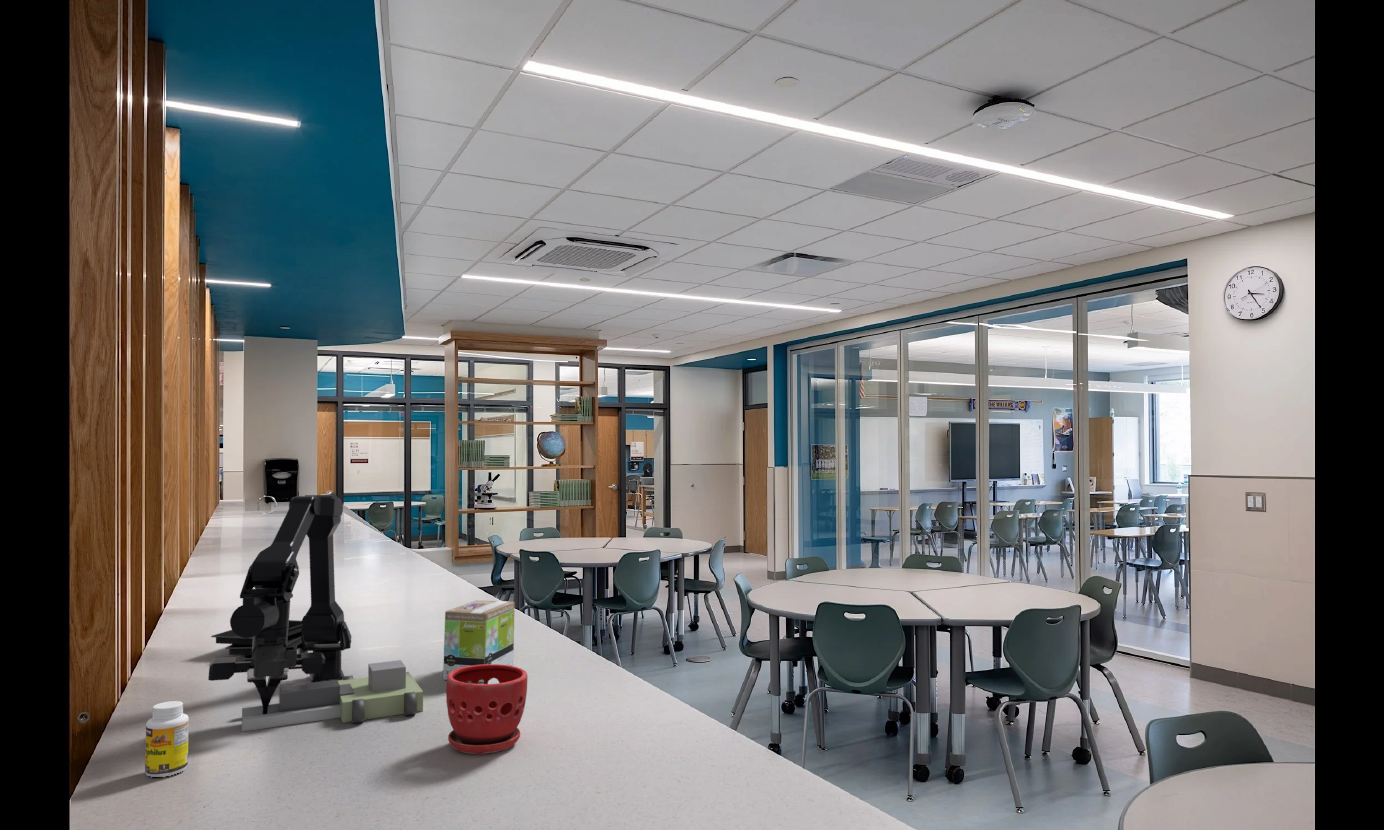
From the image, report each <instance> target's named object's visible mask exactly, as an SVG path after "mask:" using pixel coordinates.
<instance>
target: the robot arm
mask: <svg viewBox="0 0 1384 830" xmlns="http://www.w3.org/2000/svg"><path fill="white" fill-rule="evenodd" d="M343 503H344V502H343V501H342V500H341V499H340V498H338V496H337V494H305V495H297V496H293V497H291V498H290V500H289V502H288V510H287V512H286V514H285V516H284V518H283V520H282V522H281V525H280V526H279V529H278V530H277V533H276V534H275V537H274V538H273V541H272V543H271V544H270V545H269V546H268V547H266V548H264V549H263V550H261V551H260V552H259V553H258V554H257V555H256V557H255V558H254V560H253V562H252V563H251V565H250V566H249V567H248V569H247V573H246V577H245V579H244V583H243V585H242V589H241V591H240V593H239V599H242V605H240V606H238V607H237V608H236V609H235V610H234V611H233V612H232V615H231V616H230V618H229V623H230V624H229V626H230V629H231V630H233V632H234V633H235V634H236V635H237V636H240V637H243V638H250V637H253V645H252V655H250V656H251V657H250V658H251V661H246V662H245V661H236V658H237V657H236V656H227V657H226V656H225V657H214V658H213V659H212V660H210V662H209V663H210V664H209V667H208V677H207V678H208V679H207V680H208V681H224V680H226V681H227V680H230V678H232V677H233V676H234V675H235V674H240V673H246V675H247V679H246V681H247V683H253V685H254V686H255V688H256V689H257V692H258V695H259V698H260V702H261V704H262V706H263V715H264V714H267V711H268V706H269V703H270V702H272V698H273V696H274V693H275V691H276V690H277V688H278V687H279V686H280V683H282V681H287V680H288V678H289V676H288V672H289V670H300V669H301V671H302V672H303V673H304V674H306V675H309V679H310V683H314V682H322V681H330V680H342V677H343V676H345V673H344V672H343V669H342V651H345V650H348V649H349V650H350V649H351V647H352V646H351V645H352V634H351V631H350V630H349V627H348V625H347V622H346V621H345V613H344V610H343V609H342V608H341V606H340V605H339V604H338V602H337V601H336V592H335V591H336V589H335V588H336V586H335V559H334V556H335V555H334V534H335V532H336V530H338V529H337V528H339V525H340V524H341V522H342V515H343V511H344V504H343ZM306 537H307V538H308V549H309V550H308V551H309V555H308V556H309V576H310V577H309V583H310V584H309V585H310V586H309V587H310V607H309V608H308V609H307V612H306V613H305V615H304V616H303V617H302V619H301V621H302V628H301V638H302V644H301V645H302V651H303V652H302V653H301V652H300V653H301V658H297V654H298V646H290V647H287V642H288V628H289V620H290V614H291V613H290V610H291V609H290V608H291V599H293V597H294V595H293V590H294V588H295V585H296V583H297V580H298V577H299V575H300V568H299V564H298V561H297V556H298V553H299V551H300V550H301V547H302V545H303V542H304V540H305V538H306ZM305 651H308V653H304V652H305ZM267 677H268V680H267Z"/></svg>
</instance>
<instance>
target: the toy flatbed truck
mask: <svg viewBox="0 0 1384 830" xmlns="http://www.w3.org/2000/svg"><path fill="white" fill-rule="evenodd" d="M367 668H368V669H367V671H368V672H367V673H368V675H367V676H365V677H364V676H363V677H358V678H356V677H355V678H354V675H353V674H351V675H344V676H343V677H342V679H338V682H339V685H340V704H338V705H330V706H323V707H316V708H308V709H301V710H294V711H286V712H279V700H278V701H270V703H269V706H268V711H267V714H264V715H263V706H262V703H257V704H249V705H242V706H241V732H247V731H255V730H256V731H257V730H261V729H270V728H276V727H283V726H291V725H297V724H304V723H311V722H317V721H318V722H319V721H324V720H325V721H326V720H333V719H338V718H340V720H341V722H342V724H343V723H351V722H352V724H357V723H358V724H359V723H363V722H365V721H366V720H371V719H379V718H384V717H392V716H398V715H404V716H413V715H416V714H417V713H418V712H423V711H424V691H423V689H422V688H421V687H420V686H419V684H418V683H417V681H416V680H415V678H414V677H413V676H412V674H411V673H410V671H407V666H406V665H405V664H404V662H403V661H402V660H401V659H397V660H389V661H380V662H373V663H368V667H367Z"/></svg>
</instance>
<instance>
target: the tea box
mask: <svg viewBox="0 0 1384 830" xmlns="http://www.w3.org/2000/svg"><path fill="white" fill-rule="evenodd" d="M443 639H444V640H443V670H442V672H443V673H442V675H443V676H442V679H443V680H444V681H447V676H448V674H449V673H450V672H452V671H454V670H456V669H458V668H462V667H466V666H473V665H483V664H501V665H510V666H513V665H514V660H515V659H514V656H515V655H514V649H515V648H514V646H515V601H505V600H504V601H502V600H481V599H479V600H478V599H477V600H476V599H475V600H473V601H471V602H468V603H465V604H462V605H460V606H459V605H458V606H457V607H453V608H450V609H449V610H446V611H445V612H444V638H443ZM467 683H472V682H471V681H468V682H467ZM478 683H484V681H483V680H479V682H478Z"/></svg>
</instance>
